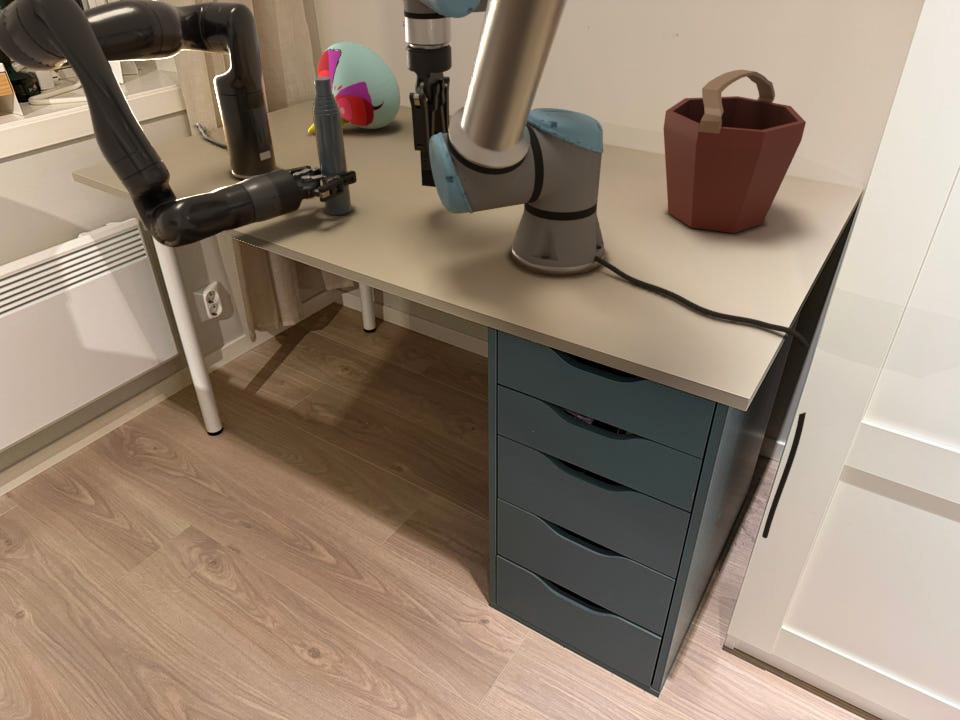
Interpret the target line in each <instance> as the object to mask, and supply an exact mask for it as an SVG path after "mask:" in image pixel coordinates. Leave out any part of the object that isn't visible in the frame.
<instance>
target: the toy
mask: <svg viewBox="0 0 960 720" xmlns="http://www.w3.org/2000/svg"><path fill="white" fill-rule="evenodd" d="M317 77H330V79H331V88H332V93H333V94H334V97H335V98H336V101H337V104H338V105H339V109H340V113H341V122H342V126H345V125H347V124H351V125H353V126H356V127H358V128H361V129H366V130H378V129H382V128H384V127H386V126H388V125H390V124H391V123H392V122H393V121H394V120H395V118H396V117H397V115H398V113H399V111H400V107H401V91H400V86H399V84H398V80H397V78H396V76H395V74H394V72H393V71H392V69H391V67H390V66H389V65H388V64H387V62H386V61H385V60H384V59H383V58H382V57H381V56H380V55H379V54H378V53H376V52H375V51H374V50H372V49H370V48H369V47H367V46H365V45H362V44H360V43H357V42H353V41H352V42H351V41H341V42H337V43H336V42H335V43H334V44H332V45H330V46H329V47H327V48H326V49H325V50H324V51H323V52H322V54H321V56H320V58H319V61H318V64H317ZM307 132H308V134H315V128H314V123H312V124H311V126H310V127H309V128H308V129H307Z"/></svg>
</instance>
